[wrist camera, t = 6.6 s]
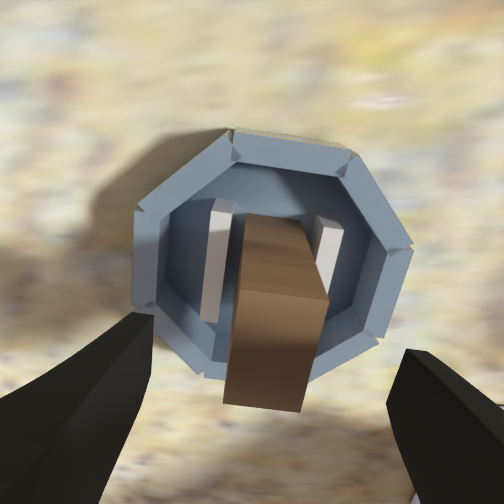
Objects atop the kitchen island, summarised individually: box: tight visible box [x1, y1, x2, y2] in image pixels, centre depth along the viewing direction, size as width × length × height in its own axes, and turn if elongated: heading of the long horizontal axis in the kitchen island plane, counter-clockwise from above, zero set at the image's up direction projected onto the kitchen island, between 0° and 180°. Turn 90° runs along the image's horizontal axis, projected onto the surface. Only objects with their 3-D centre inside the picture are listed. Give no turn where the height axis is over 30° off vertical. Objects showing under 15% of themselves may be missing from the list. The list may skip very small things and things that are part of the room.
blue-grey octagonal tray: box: [132, 127, 414, 383], centre depth 16 cm, size 11×11×2 cm
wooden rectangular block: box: [223, 213, 329, 413], centre depth 14 cm, size 4×2×7 cm, turn 171°
